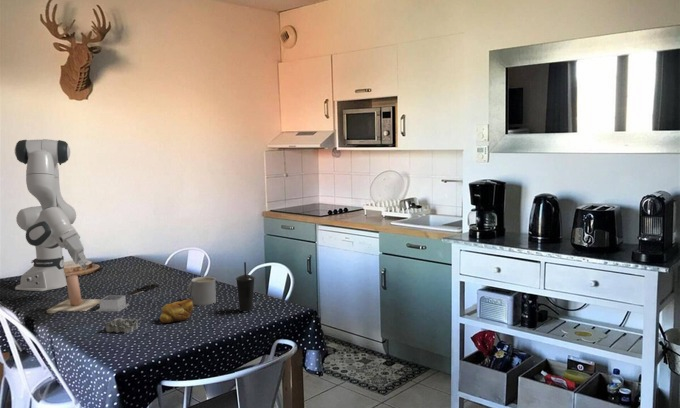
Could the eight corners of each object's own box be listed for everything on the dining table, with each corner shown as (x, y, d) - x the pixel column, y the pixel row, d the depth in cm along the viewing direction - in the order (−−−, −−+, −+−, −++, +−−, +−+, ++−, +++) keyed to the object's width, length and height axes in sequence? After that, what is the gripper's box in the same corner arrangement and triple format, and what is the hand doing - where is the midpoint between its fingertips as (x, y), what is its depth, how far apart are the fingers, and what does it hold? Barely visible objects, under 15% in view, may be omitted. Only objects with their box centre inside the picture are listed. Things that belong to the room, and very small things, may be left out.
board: (46, 313, 223) (46, 310, 223) (67, 301, 239) (67, 299, 239) (85, 313, 223) (85, 310, 223) (104, 302, 239) (103, 299, 238)
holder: (95, 313, 223) (94, 301, 222) (106, 306, 232) (106, 294, 232) (119, 313, 222) (119, 301, 222) (130, 306, 232) (129, 294, 232)
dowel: (68, 306, 229) (63, 279, 225) (73, 301, 233) (69, 275, 229) (78, 306, 229) (74, 279, 225) (84, 301, 233) (79, 275, 229)
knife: (120, 301, 242) (120, 298, 242) (109, 299, 245) (109, 296, 245) (162, 287, 264) (162, 284, 264) (152, 286, 267) (151, 283, 267)
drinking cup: (259, 308, 227) (257, 261, 225) (250, 314, 220) (248, 264, 218) (242, 307, 230) (241, 259, 228) (233, 312, 223) (231, 263, 221)
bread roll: (164, 326, 206) (164, 305, 205) (153, 320, 213) (152, 300, 212) (196, 319, 215) (195, 299, 214) (184, 313, 222) (183, 294, 221)
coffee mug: (220, 302, 238) (219, 279, 237) (200, 307, 231) (199, 283, 230) (203, 296, 247) (202, 274, 246) (183, 301, 240) (182, 278, 239)
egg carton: (102, 332, 201) (102, 321, 200) (115, 326, 208) (114, 315, 207) (129, 334, 198) (128, 323, 198) (141, 327, 206) (140, 317, 205)
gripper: (61, 249, 245) (78, 275, 244) (60, 235, 228) (78, 263, 227) (75, 242, 249) (92, 268, 248) (75, 228, 231) (93, 255, 230)
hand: (85, 265), depth 237 cm, fingers open, 8 cm apart
